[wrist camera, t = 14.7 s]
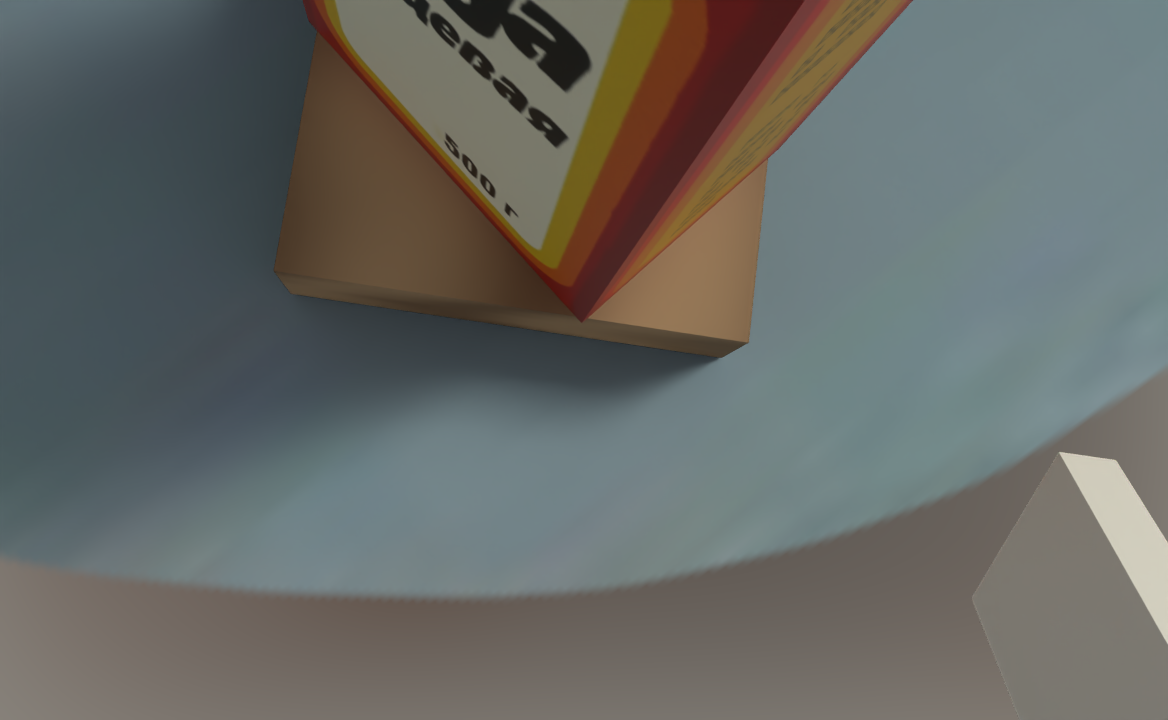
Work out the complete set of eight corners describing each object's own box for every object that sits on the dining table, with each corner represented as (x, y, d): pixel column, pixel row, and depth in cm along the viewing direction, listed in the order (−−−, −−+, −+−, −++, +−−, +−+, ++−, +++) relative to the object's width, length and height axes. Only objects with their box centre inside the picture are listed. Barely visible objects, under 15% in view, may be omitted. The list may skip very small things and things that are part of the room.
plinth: (291, 293, 25) (273, 271, 23) (362, -110, 27) (353, -171, 25) (721, 358, 27) (748, 342, 24) (764, -33, 28) (793, -84, 26)
